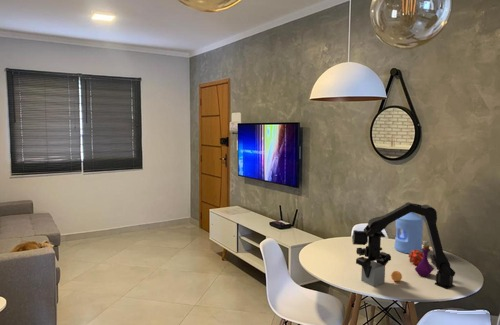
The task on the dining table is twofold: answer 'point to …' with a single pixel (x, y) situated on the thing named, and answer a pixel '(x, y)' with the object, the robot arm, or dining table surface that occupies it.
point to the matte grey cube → (374, 274)
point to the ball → (396, 276)
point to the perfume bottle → (424, 262)
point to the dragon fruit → (415, 257)
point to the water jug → (409, 233)
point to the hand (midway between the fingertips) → (373, 276)
